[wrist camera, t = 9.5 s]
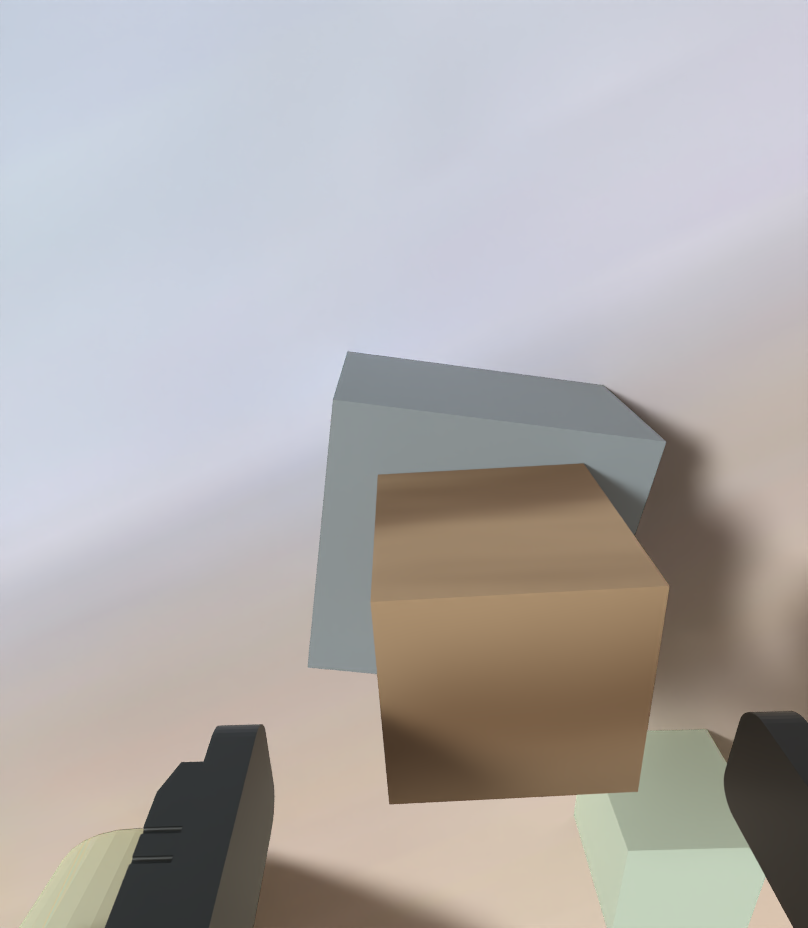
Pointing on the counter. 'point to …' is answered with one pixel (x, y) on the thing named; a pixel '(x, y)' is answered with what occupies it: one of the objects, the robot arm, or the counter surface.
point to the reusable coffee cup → (85, 883)
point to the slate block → (451, 464)
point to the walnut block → (511, 635)
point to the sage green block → (670, 842)
